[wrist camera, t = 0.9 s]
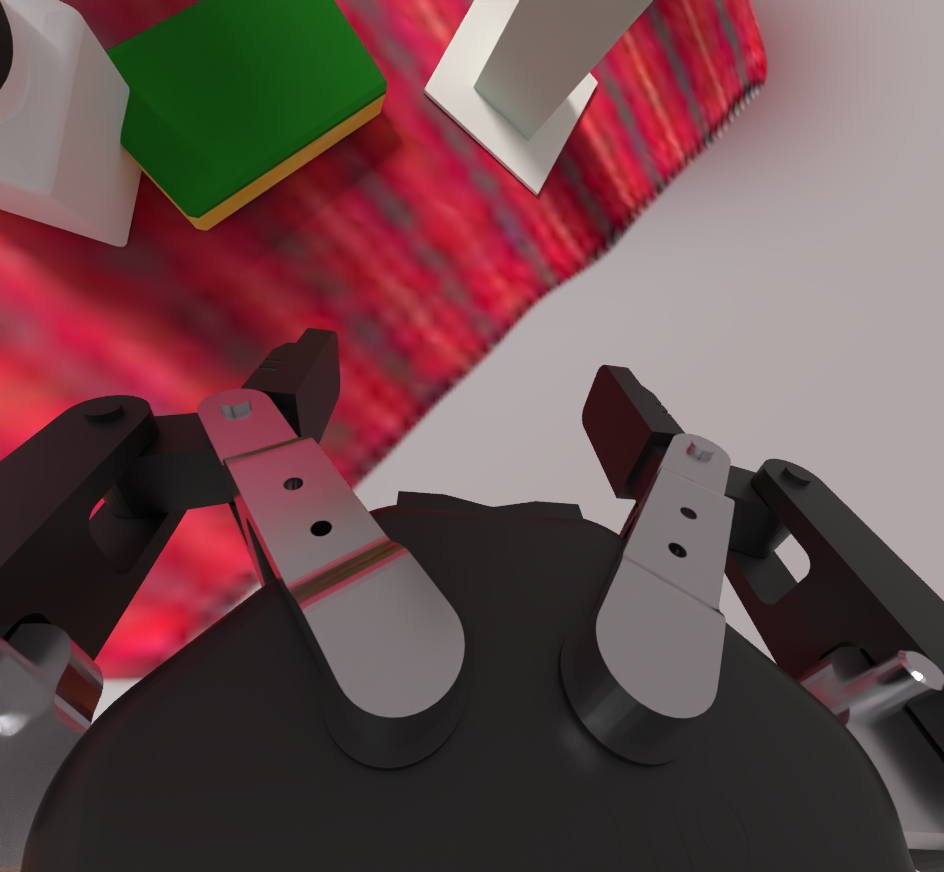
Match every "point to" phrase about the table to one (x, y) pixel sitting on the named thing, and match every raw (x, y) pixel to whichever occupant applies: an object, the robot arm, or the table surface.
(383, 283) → the table surface
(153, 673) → the robot arm
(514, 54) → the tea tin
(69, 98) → the medicine bottle
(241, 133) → the dish sponge
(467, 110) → the tile
